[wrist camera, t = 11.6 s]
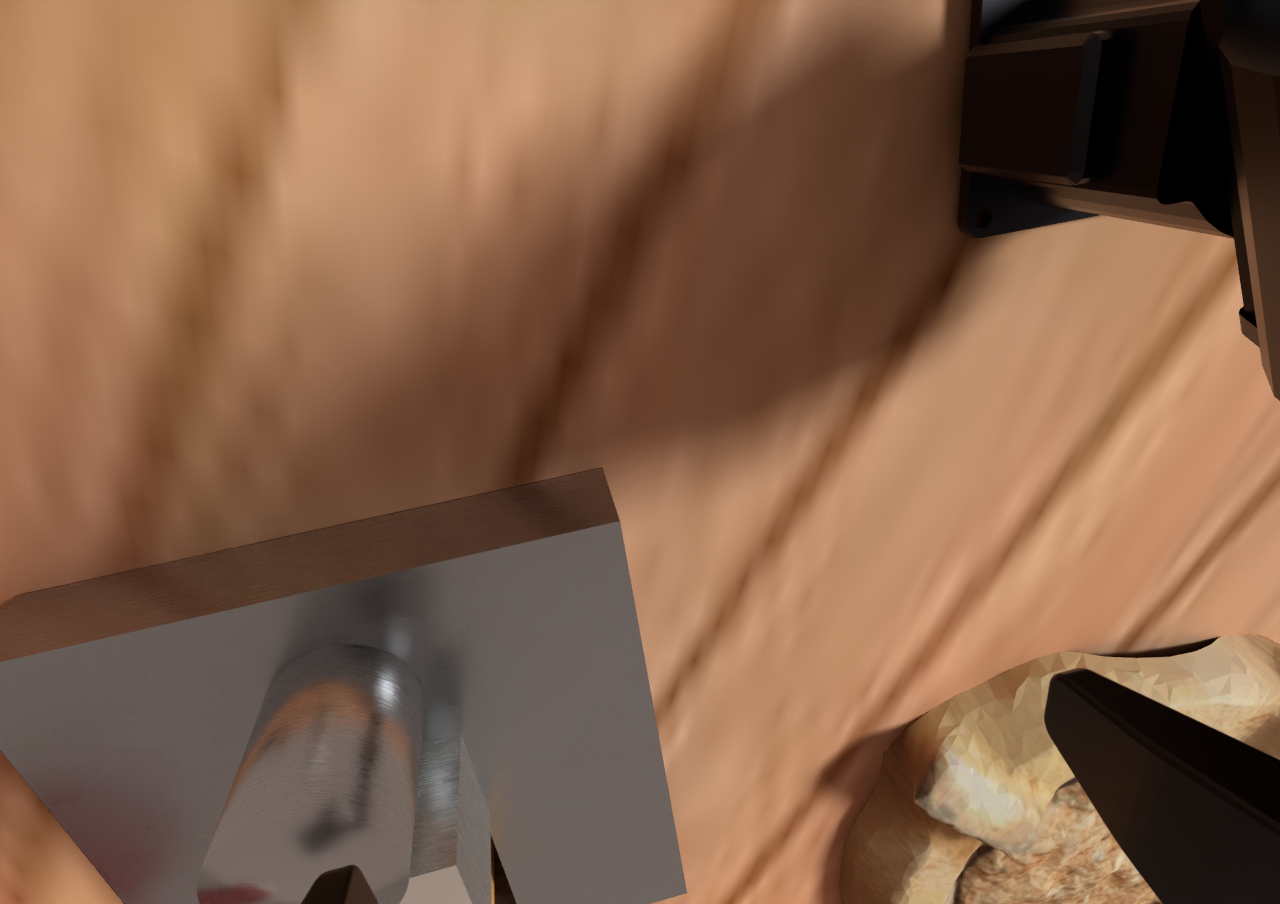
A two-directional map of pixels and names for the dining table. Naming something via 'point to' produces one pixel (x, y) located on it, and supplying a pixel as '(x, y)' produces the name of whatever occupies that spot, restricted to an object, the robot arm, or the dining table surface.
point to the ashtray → (1032, 784)
